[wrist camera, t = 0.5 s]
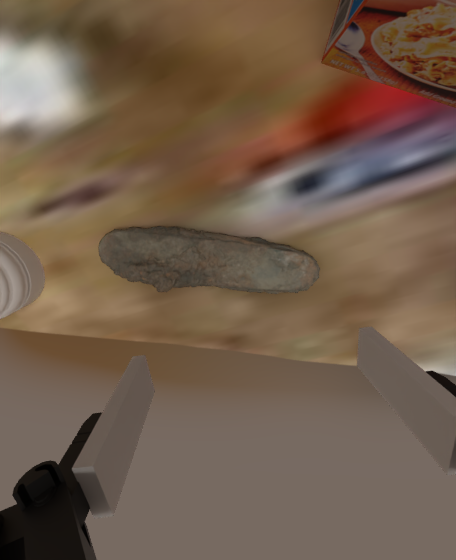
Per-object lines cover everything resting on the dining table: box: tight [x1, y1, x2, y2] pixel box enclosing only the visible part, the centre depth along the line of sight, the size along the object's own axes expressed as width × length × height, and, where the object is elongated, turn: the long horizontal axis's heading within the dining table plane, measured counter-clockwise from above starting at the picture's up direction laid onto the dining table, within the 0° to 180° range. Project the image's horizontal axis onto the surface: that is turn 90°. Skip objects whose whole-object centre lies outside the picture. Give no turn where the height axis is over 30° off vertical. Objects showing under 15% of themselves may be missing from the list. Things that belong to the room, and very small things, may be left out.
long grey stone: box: [99, 226, 320, 294], centre depth 40 cm, size 35×5×10 cm
